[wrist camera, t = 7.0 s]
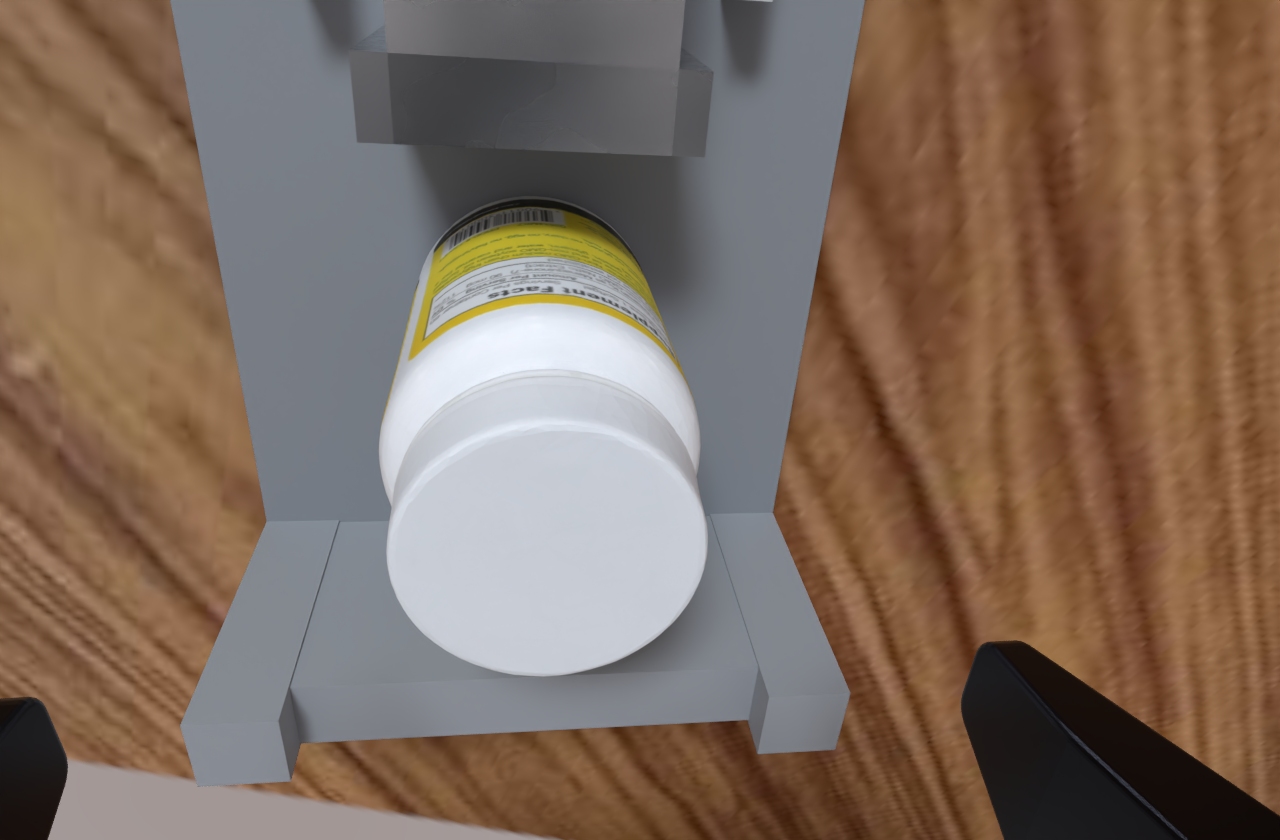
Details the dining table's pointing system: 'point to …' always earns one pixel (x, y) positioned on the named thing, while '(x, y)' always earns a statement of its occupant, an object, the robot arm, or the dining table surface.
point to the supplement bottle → (540, 447)
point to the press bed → (371, 344)
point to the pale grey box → (532, 77)
